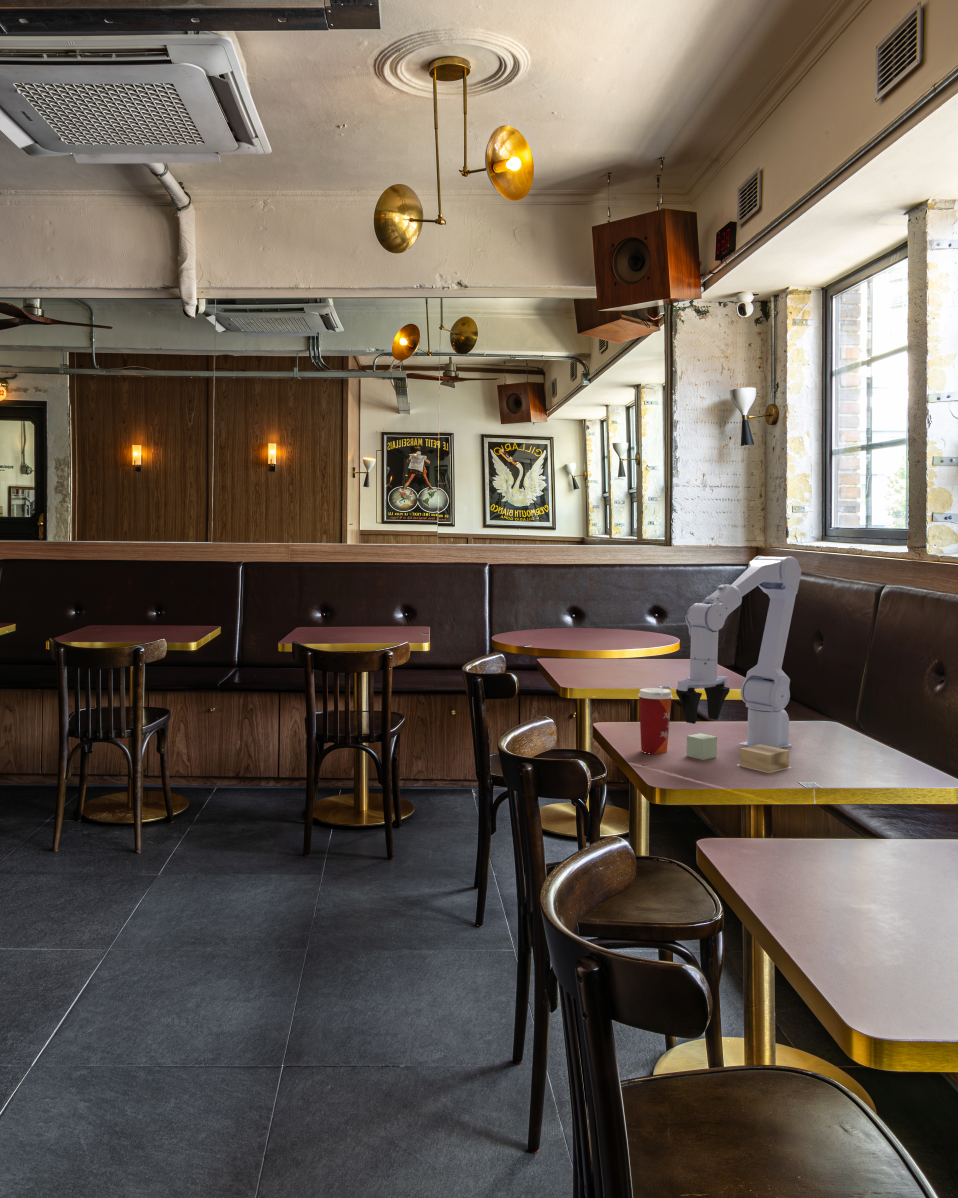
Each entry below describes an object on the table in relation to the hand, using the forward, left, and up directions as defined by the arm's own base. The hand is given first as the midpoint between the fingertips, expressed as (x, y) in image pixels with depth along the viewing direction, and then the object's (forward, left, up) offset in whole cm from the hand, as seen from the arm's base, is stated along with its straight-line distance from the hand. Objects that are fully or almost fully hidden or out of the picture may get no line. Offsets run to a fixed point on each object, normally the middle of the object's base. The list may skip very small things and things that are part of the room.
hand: (702, 721), depth 189 cm
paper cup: (+4, -10, -9) cm, 14 cm away
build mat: (-4, +13, -8) cm, 16 cm away
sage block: (0, 0, -8) cm, 8 cm away
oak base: (-4, +13, -8) cm, 16 cm away
